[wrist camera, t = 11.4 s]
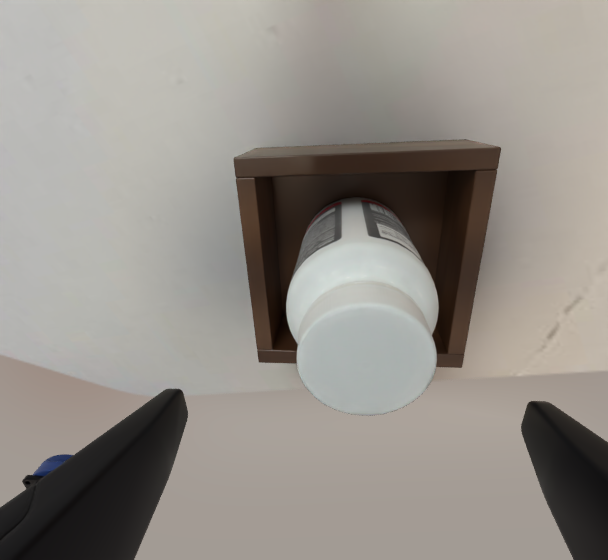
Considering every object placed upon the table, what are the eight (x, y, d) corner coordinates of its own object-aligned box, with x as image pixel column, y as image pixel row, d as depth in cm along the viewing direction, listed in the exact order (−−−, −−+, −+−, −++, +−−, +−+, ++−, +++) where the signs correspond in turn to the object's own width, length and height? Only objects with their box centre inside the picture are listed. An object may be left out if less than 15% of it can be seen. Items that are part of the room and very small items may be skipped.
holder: (441, 322, 21) (462, 368, 17) (272, 320, 22) (258, 362, 18) (466, 139, 17) (502, 147, 13) (255, 148, 18) (232, 157, 14)
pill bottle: (314, 297, 20) (294, 440, 11) (293, 206, 18) (247, 296, 9) (411, 283, 19) (469, 426, 10) (400, 184, 17) (461, 261, 8)
